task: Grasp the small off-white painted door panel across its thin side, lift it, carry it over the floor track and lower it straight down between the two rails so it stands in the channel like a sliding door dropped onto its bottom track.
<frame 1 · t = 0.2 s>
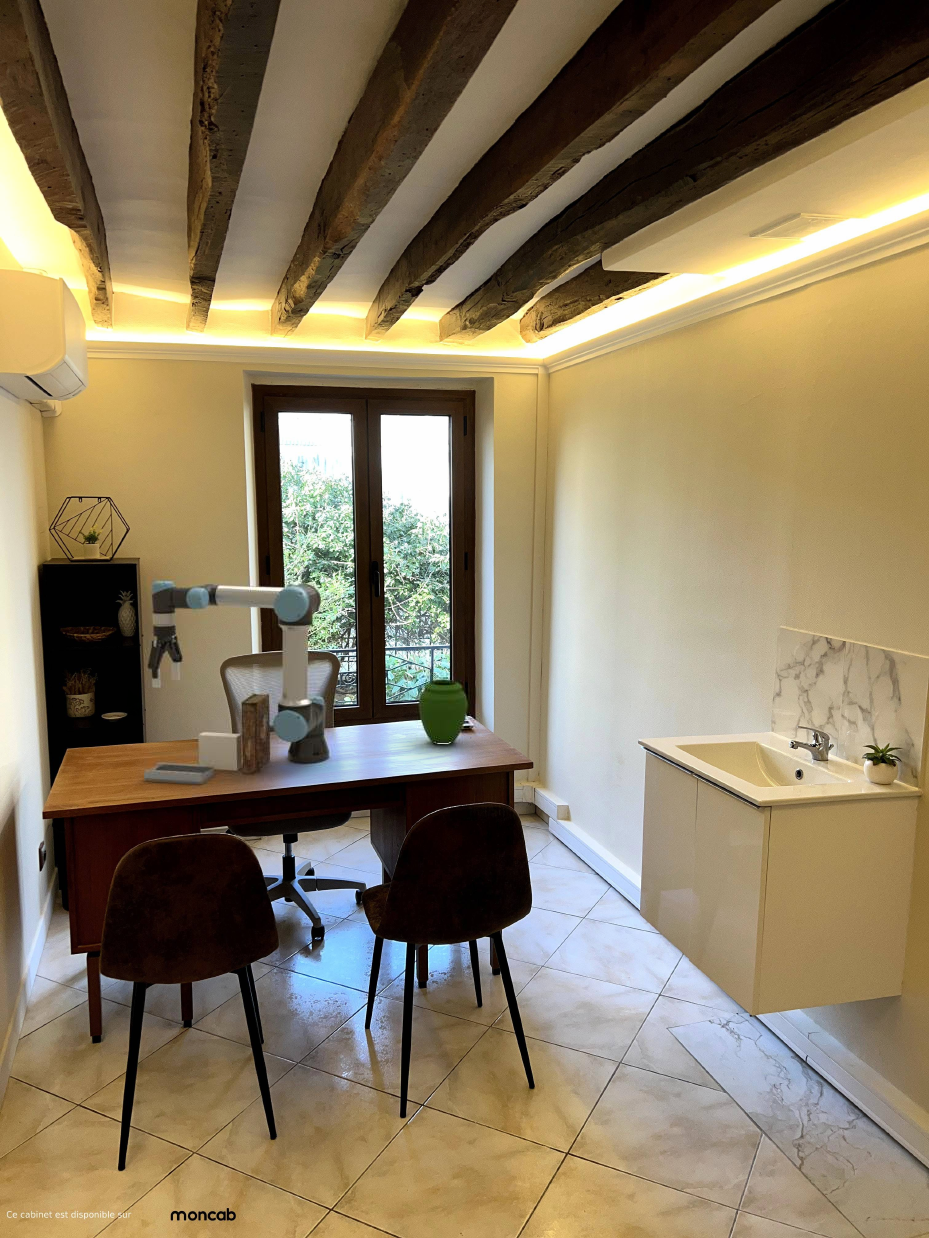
hand: (166, 683, 292), 28 cm above the table, fingers open, 13 cm apart
vase: (442, 743, 324), on the table
track: (179, 778, 275), on the table
door: (220, 767, 288), on the table
book: (256, 767, 289), on the table
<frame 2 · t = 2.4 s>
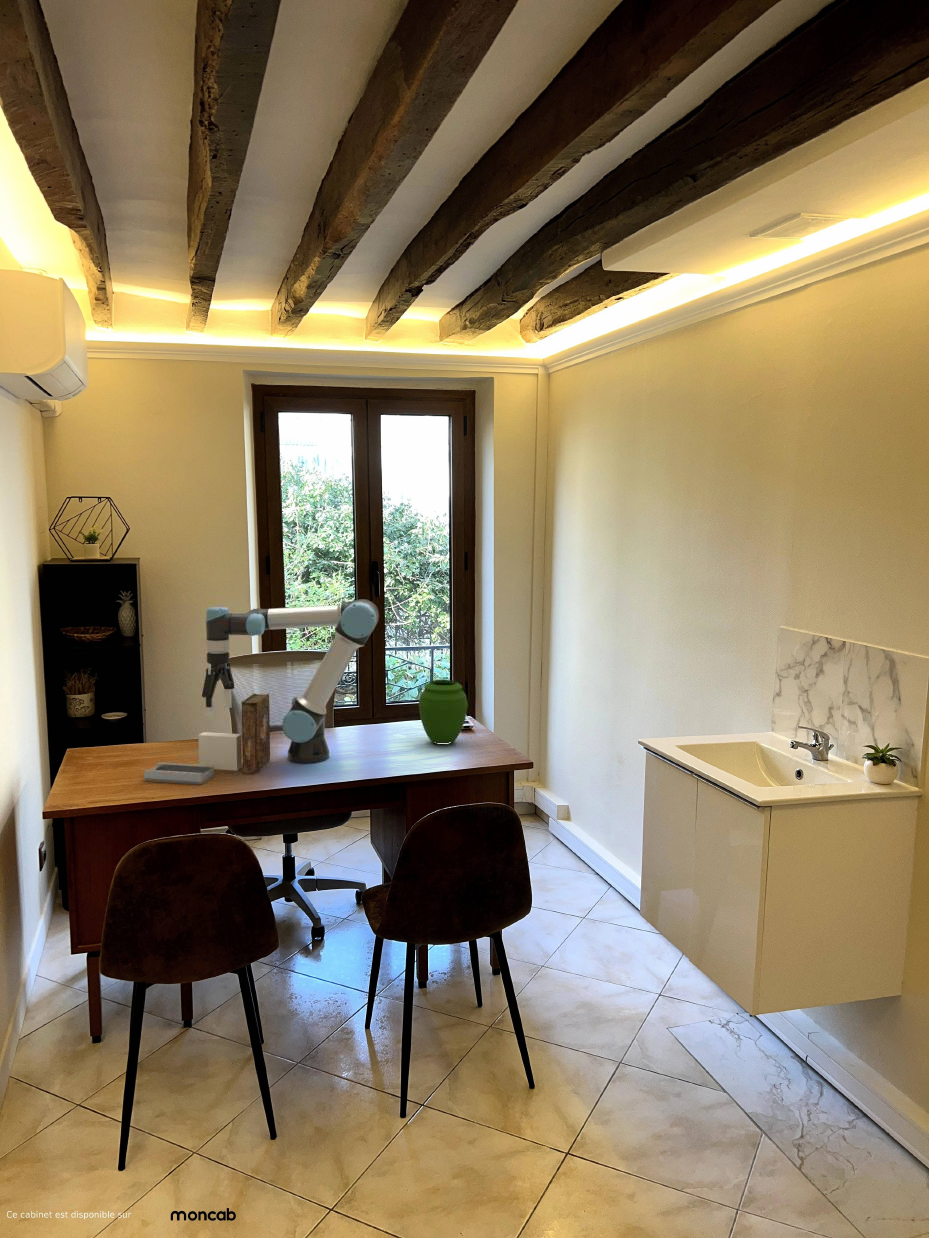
hand: (219, 711, 285), 20 cm above the table, fingers open, 13 cm apart
nothing on the table moved.
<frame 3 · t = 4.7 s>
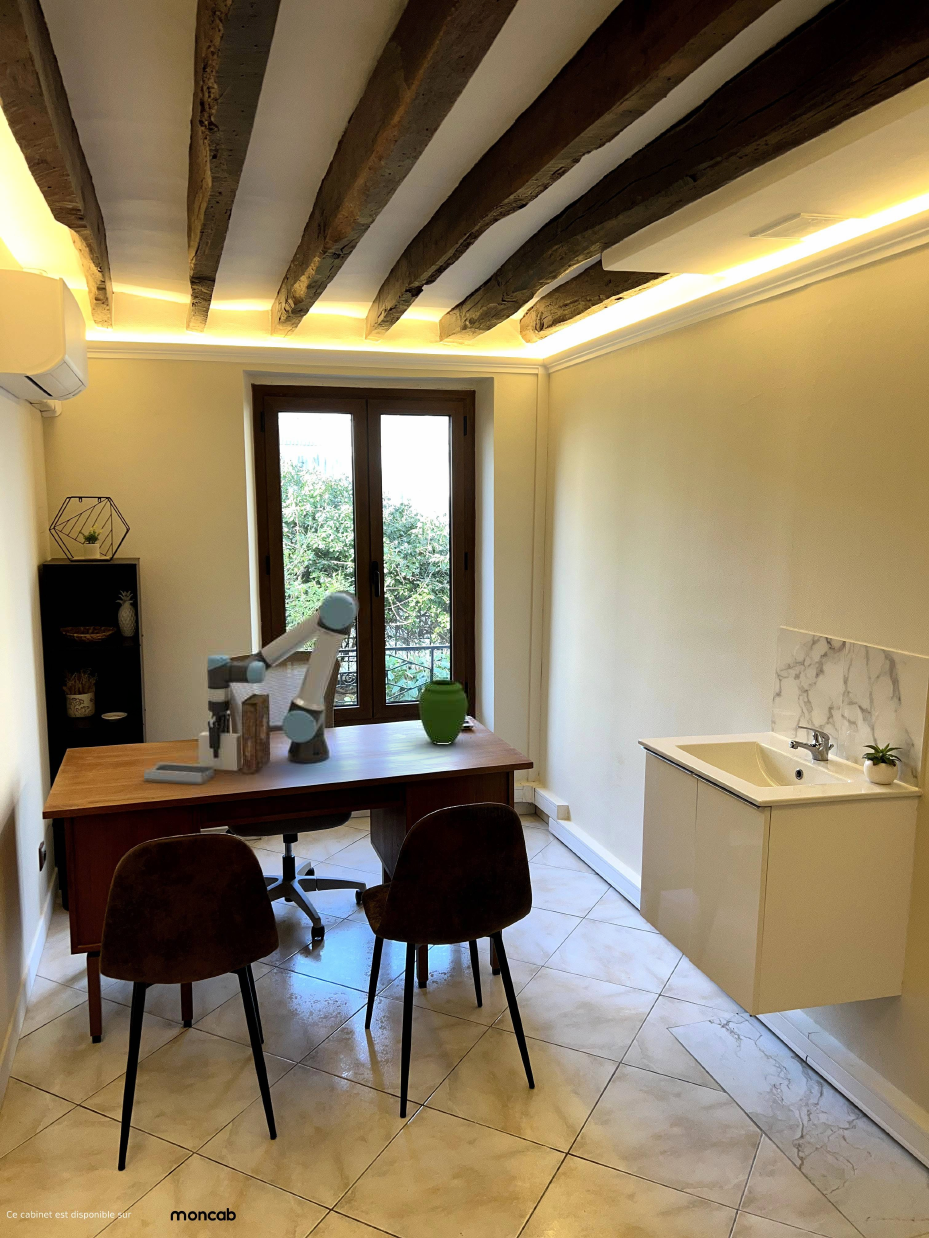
hand: (220, 764, 288), 1 cm above the table, fingers closed on door, 4 cm apart
door: (220, 767, 288), on the table, touching gripper
everything else where it was.
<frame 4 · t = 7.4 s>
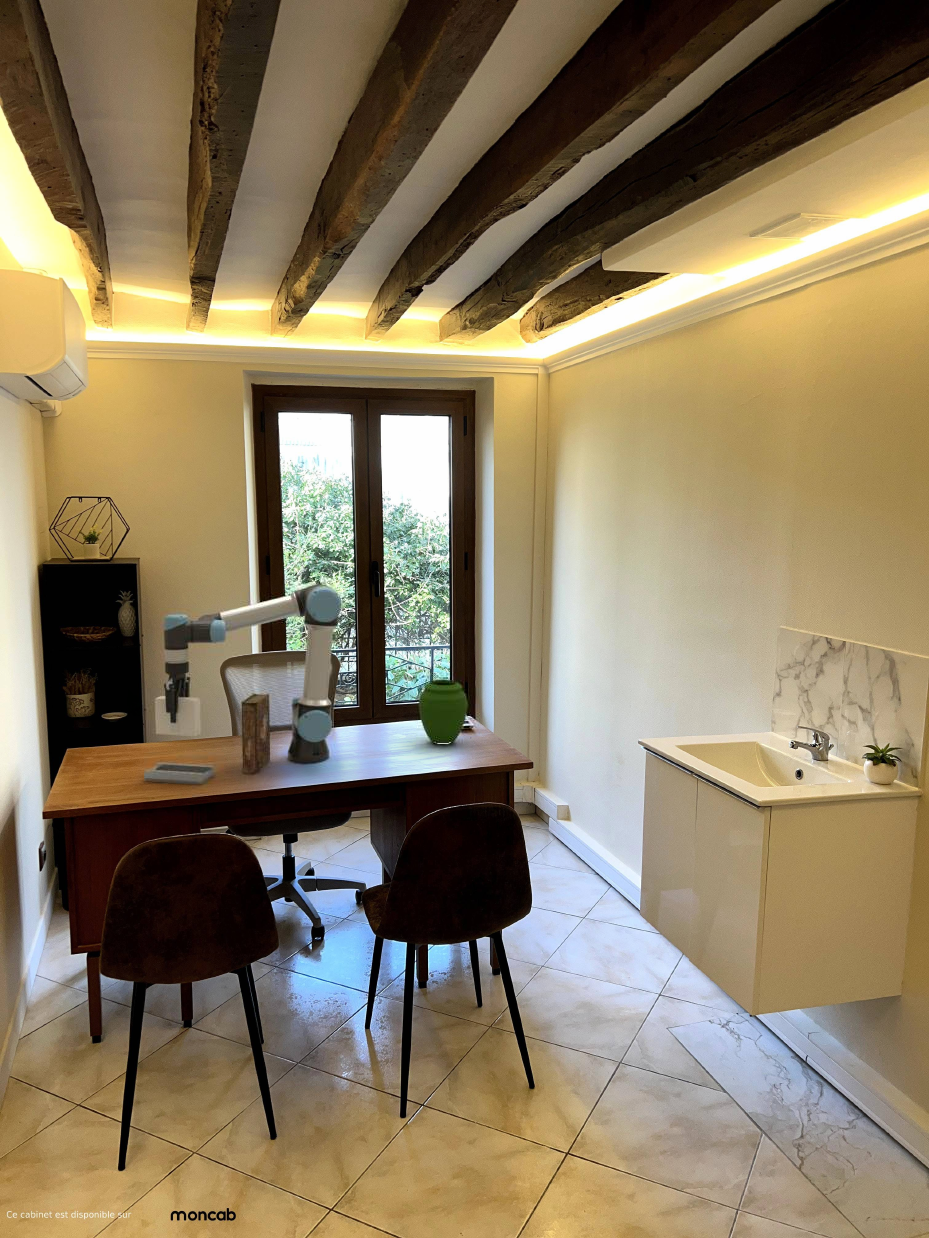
hand: (178, 729, 273), 17 cm above the table, fingers closed on door, 4 cm apart
door: (178, 733, 273), point 16 cm above the table, touching gripper
everything else where it was.
when the fingers open (4 cm above the table, at t = 9.9 s): door drops 2 cm, resting on track.
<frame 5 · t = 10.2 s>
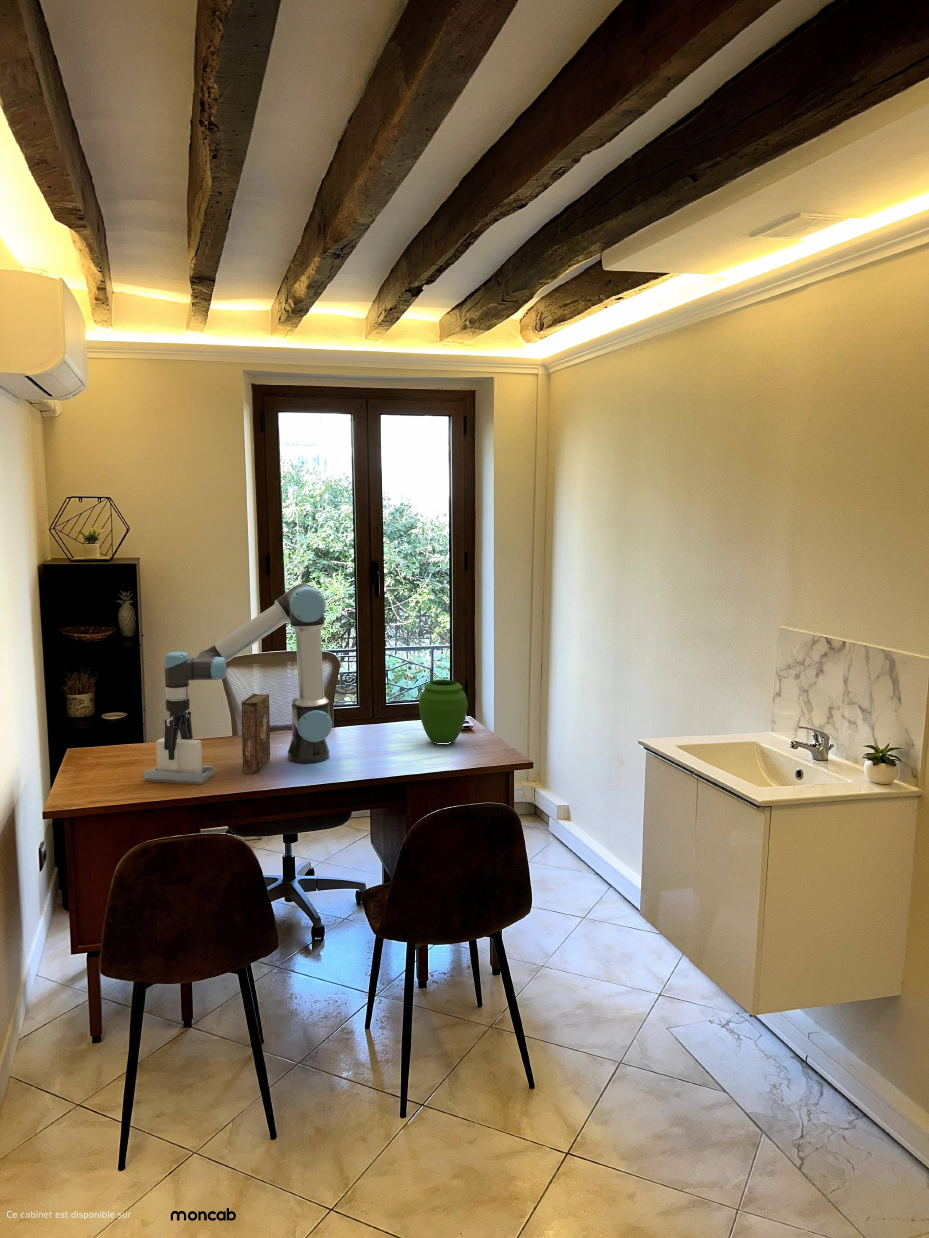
hand: (179, 764, 275), 5 cm above the table, fingers open, 8 cm apart
door: (179, 775, 275), point 1 cm above the table, touching track
everything else where it was.
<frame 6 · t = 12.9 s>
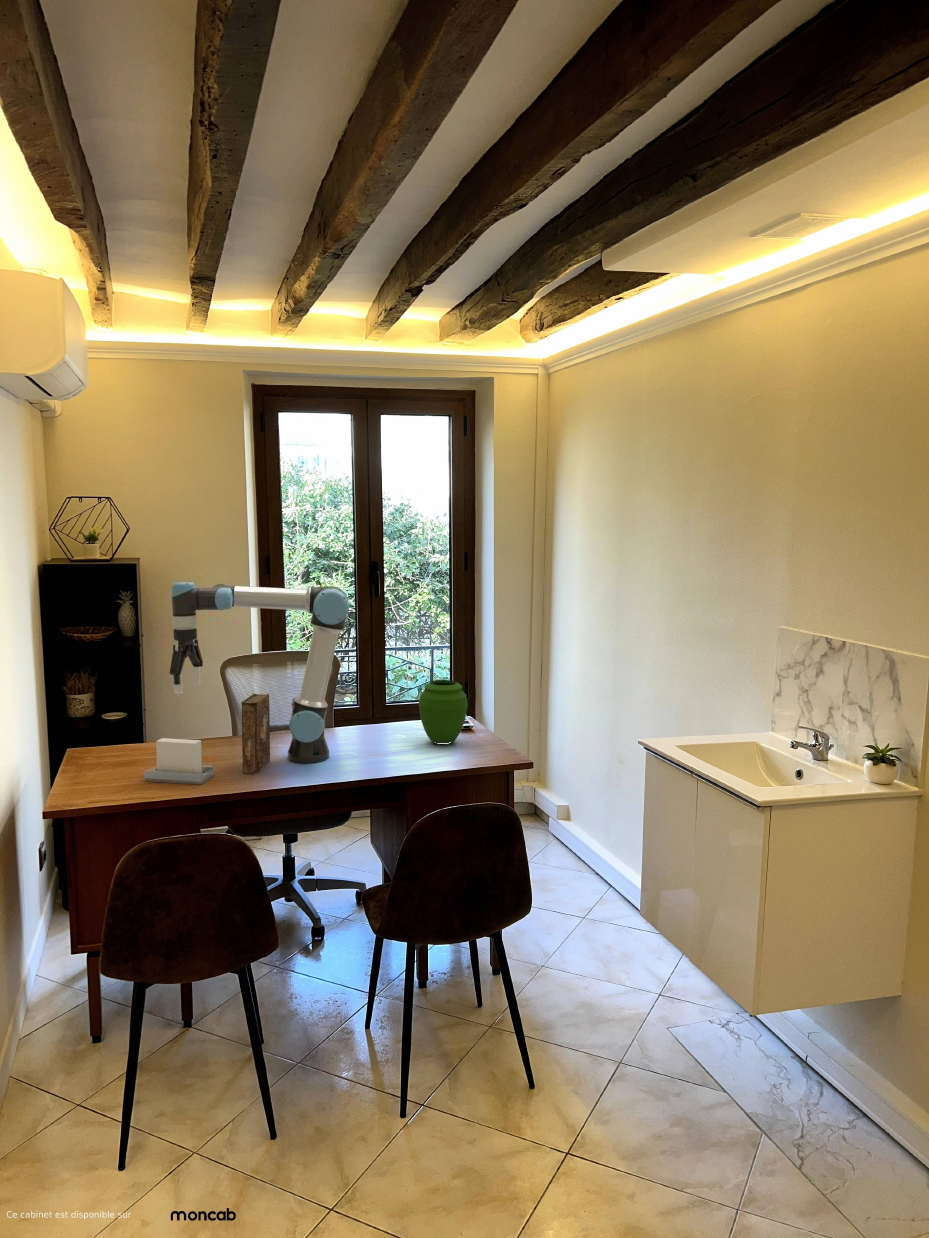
hand: (187, 689, 279), 29 cm above the table, fingers open, 13 cm apart
nothing on the table moved.
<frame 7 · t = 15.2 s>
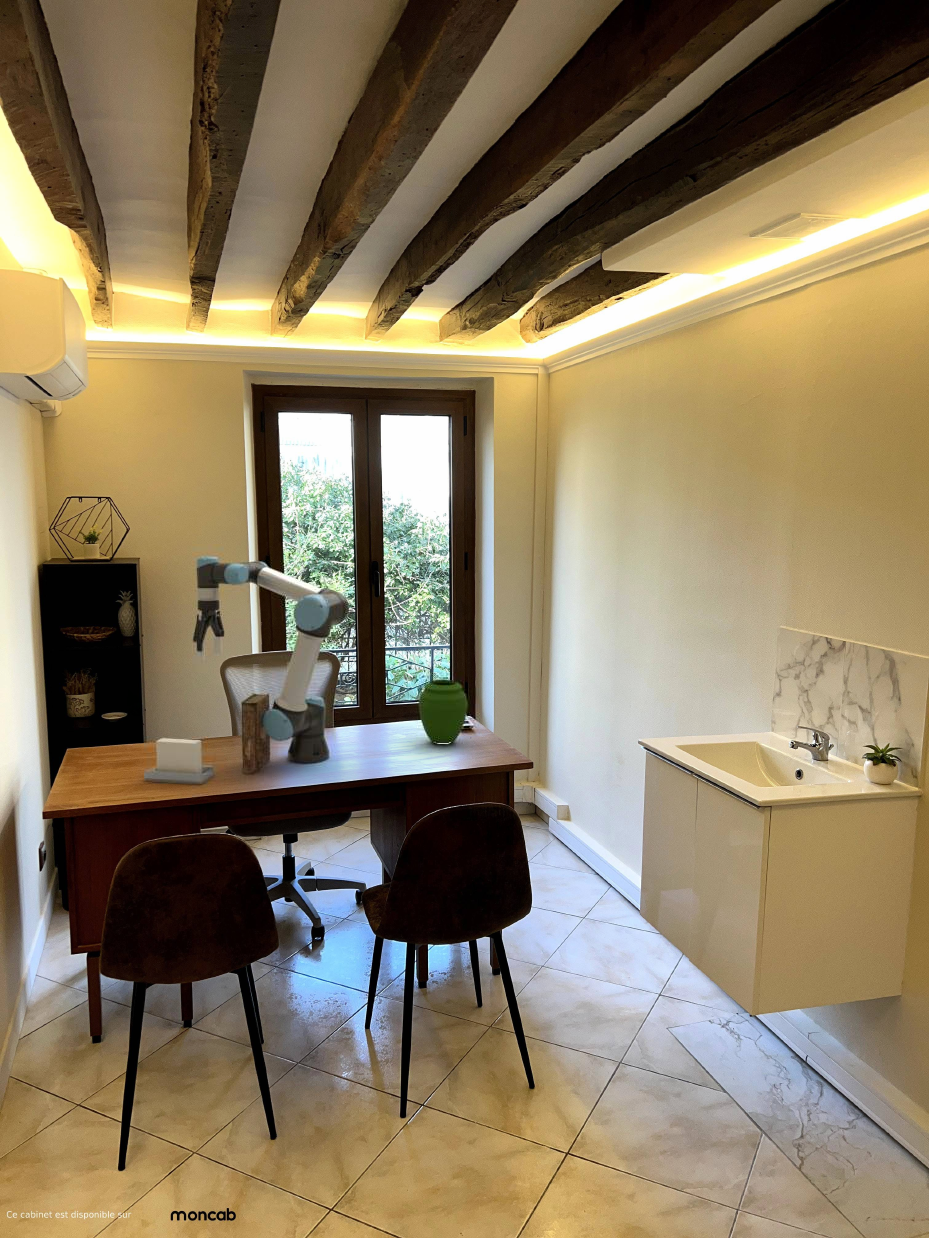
hand: (209, 657, 298), 37 cm above the table, fingers open, 13 cm apart
nothing on the table moved.
at the end: door inside the target area on the track (0.0 cm from its centre), point 1.0 cm above the track's base; door tilted 0°; the gripper is holding nothing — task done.
